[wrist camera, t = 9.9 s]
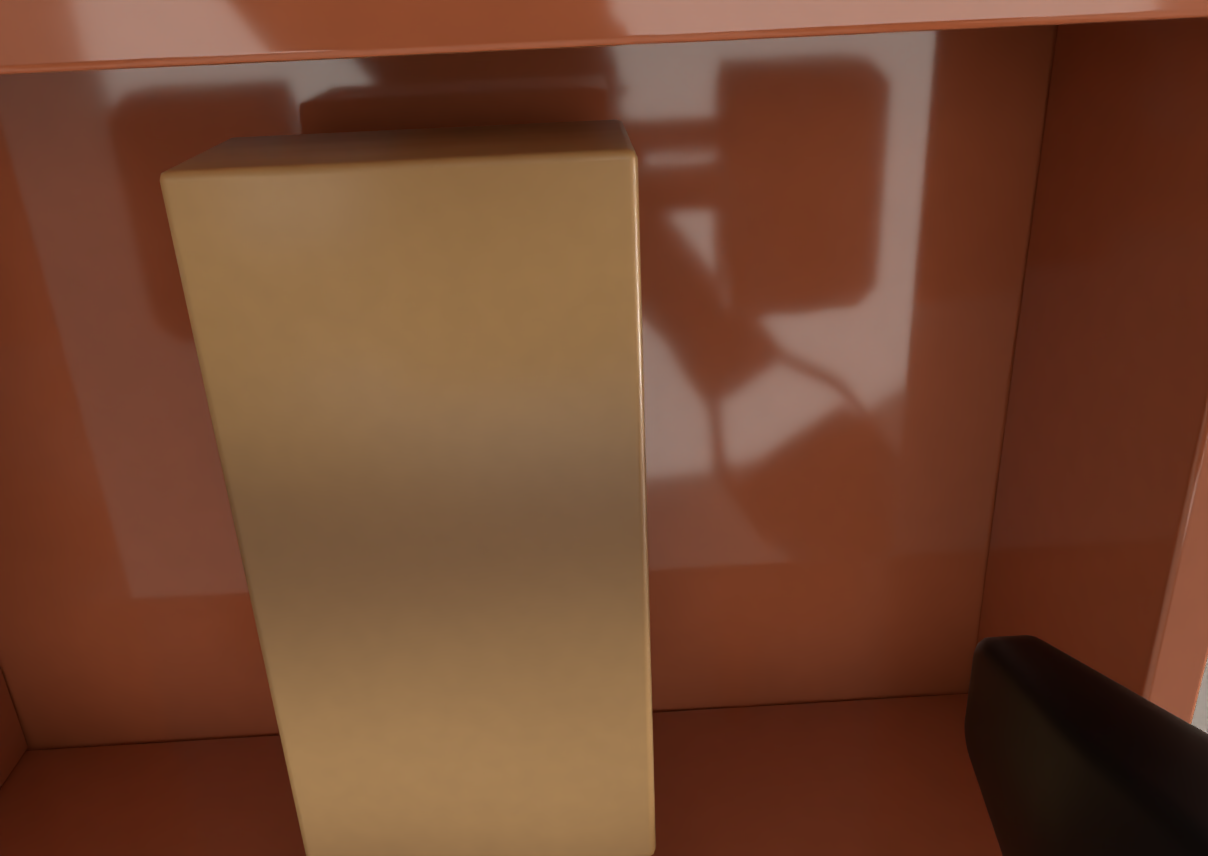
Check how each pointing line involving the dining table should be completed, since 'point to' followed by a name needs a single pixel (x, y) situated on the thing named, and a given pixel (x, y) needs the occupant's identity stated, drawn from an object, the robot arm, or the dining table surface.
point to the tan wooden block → (437, 474)
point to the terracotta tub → (647, 386)
